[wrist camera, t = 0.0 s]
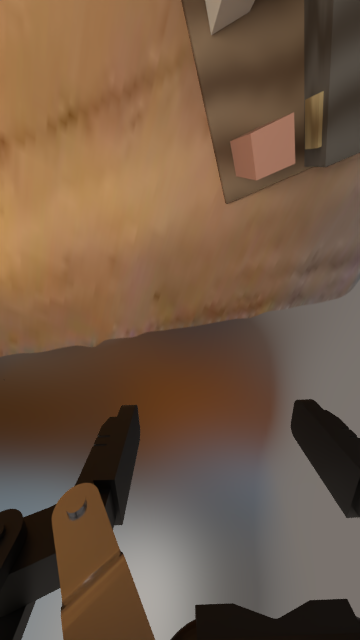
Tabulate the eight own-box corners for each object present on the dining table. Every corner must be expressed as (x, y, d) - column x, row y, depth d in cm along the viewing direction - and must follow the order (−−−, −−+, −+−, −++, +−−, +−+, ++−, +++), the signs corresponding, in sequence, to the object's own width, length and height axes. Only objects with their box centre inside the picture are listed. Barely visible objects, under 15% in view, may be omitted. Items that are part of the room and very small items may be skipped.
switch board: (167, -63, 18) (165, -140, 14) (361, -210, 15) (445, -378, 10) (225, 202, 32) (234, 209, 27) (334, 155, 29) (366, 154, 24)
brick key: (229, 141, 26) (250, 133, 19) (260, 126, 26) (294, 112, 18) (236, 176, 29) (256, 180, 22) (264, 163, 28) (295, 163, 21)
